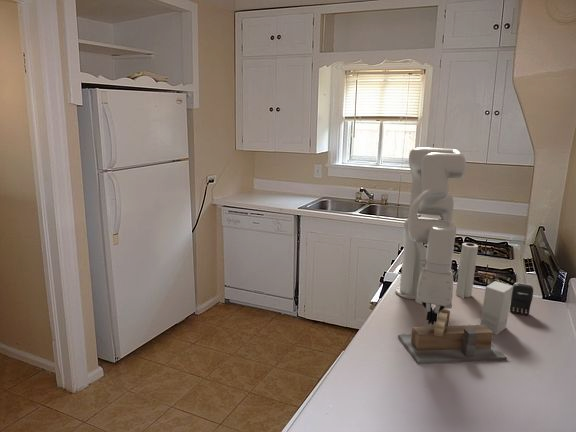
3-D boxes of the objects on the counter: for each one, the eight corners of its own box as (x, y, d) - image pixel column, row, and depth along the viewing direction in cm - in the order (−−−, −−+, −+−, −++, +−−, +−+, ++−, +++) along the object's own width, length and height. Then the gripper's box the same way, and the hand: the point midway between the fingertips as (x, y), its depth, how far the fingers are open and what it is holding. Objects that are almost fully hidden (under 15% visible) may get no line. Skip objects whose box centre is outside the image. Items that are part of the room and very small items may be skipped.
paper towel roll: (461, 290, 194) (468, 241, 189) (474, 295, 189) (481, 245, 184) (450, 294, 190) (457, 243, 185) (463, 299, 185) (470, 247, 180)
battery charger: (509, 313, 174) (513, 284, 171) (508, 309, 177) (513, 281, 175) (529, 317, 171) (534, 288, 168) (529, 313, 174) (534, 284, 172)
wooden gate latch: (397, 336, 152) (400, 312, 150) (478, 334, 156) (481, 310, 154) (417, 363, 136) (420, 336, 134) (506, 360, 140) (510, 334, 138)
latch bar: (438, 315, 153) (439, 307, 152) (449, 318, 152) (450, 310, 151) (431, 334, 140) (432, 325, 139) (444, 337, 138) (445, 328, 138)
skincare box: (488, 321, 166) (494, 280, 163) (507, 328, 162) (514, 285, 158) (478, 328, 160) (484, 285, 157) (498, 335, 156) (504, 291, 152)
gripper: (410, 266, 140) (404, 322, 144) (463, 274, 134) (455, 333, 138) (414, 259, 146) (408, 313, 151) (464, 267, 141) (457, 322, 145)
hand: (431, 322), depth 144 cm, fingers closed
